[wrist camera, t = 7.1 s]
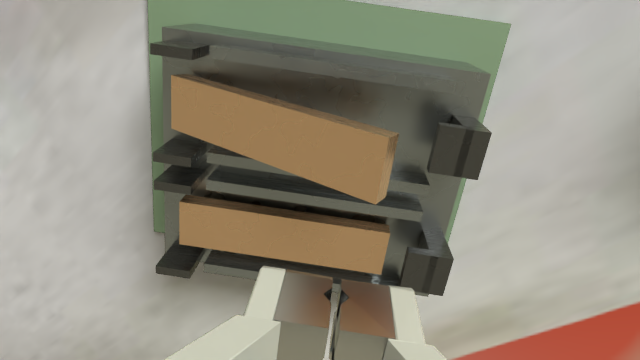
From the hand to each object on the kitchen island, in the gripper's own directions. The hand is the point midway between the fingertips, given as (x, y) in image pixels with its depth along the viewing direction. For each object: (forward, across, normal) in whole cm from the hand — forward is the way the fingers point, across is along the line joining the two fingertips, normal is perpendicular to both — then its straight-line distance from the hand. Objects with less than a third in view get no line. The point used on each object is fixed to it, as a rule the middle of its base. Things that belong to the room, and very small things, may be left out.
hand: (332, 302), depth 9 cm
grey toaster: (+21, +2, +3) cm, 21 cm away
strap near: (+12, +3, 0) cm, 12 cm away
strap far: (+15, +3, +7) cm, 16 cm away
